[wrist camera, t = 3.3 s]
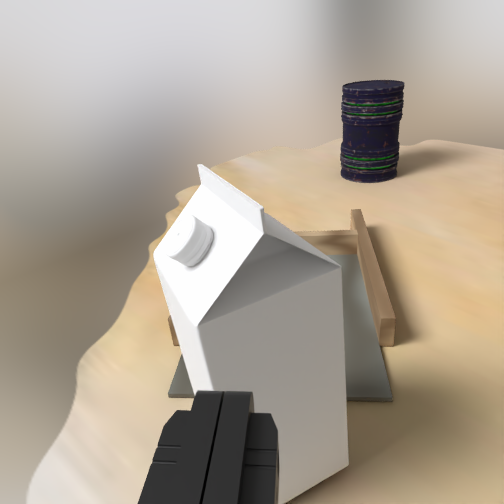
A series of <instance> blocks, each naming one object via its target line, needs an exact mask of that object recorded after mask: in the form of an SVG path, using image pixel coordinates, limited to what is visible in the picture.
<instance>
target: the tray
mask: <svg viewBox="0 0 504 504" xmlns="http://www.w3.org/2000/svg"><path fill="white" fill-rule="evenodd" d="M294 233H295V234H297V235H298V236H300V237H301V238H303V239H304V240H305V241H307V242H308V243H310V244H311V245H312V246H314V247H315V248H317V249H318V250H319V251H321V252H322V253H324V254H325V255H327V256H328V257H329V258H331V259H332V260H334V261H335V262H336V263H338V264H339V265H340V266H342V267H341V271H342V297H343V324H344V350H345V376H346V401H392V398H393V397H392V393H391V389H390V385H389V381H388V377H387V373H386V369H385V365H384V361H383V357H382V353H381V349H380V346H393V342H394V333H395V323H396V317H395V314H394V311H393V308H392V305H391V301H390V298H389V295H388V292H387V289H386V286H385V283H384V280H383V277H382V274H381V271H380V268H379V264H378V261H377V258H376V255H375V252H374V249H373V246H372V243H371V240H370V237H369V234H368V230H367V227H366V224H365V221H364V218H363V215H362V212H361V209H355V210H351V229H350V230H337V231H304V232H294ZM168 321H169V326H170V331H171V335H172V340H173V344H174V346H180V345H179V342H178V338H177V335H176V332H175V328H174V325H173V322H172V318H171V315H170V316H169V318H168ZM168 396H169V397H183V398H194V397H195V395H194V392H193V388H192V385H191V382H190V378H189V375H188V372H187V368H186V365H185V362H184V358H183V355H181V358H180V361H179V363H178V366H177V369H176V372H175V375H174V378H173V381H172V384H171V386H170V389H169V392H168Z"/></svg>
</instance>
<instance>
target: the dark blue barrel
mask: <svg viewBox="0 0 504 504" xmlns="http://www.w3.org/2000/svg"><path fill="white" fill-rule="evenodd" d="M403 89H404V82H402V81H394V80H371V81H360V82H353V83H348V84H345V85H343V90H342V91H343V95H342V101H343V102H342V108H341V109H342V115H341V117H342V121H343V142H342V144H341V154H340V155H341V156H340V161H341V167H342V169H341V176H342V177H343V178H345V179H347V180H350V181H354V182H361V183H376V182H383V181H387V180H390V179H393V178H394V177H395V176H396V175H397V170H396V167H397V161H398V160H399V152H398V151H399V142H398V135H399V123H400V120H401V118H402V115H403V114H402V108H403V102H404V100H403V94H404V93H403Z"/></svg>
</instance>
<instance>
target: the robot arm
mask: <svg viewBox="0 0 504 504" xmlns="http://www.w3.org/2000/svg"><path fill="white" fill-rule="evenodd" d="M279 471H280V465H279V443H278V429H277V427H276V424H275V422H274V420H273V417H272V415H271V413H255V411H254V398H253V392H247V391H207V390H198V391H197V392H196V394H195V397H194V401H193V405H192V408H191V411H187V410H177V411H176V412H175V413H174V414H173V415H172V417H171V418H170V419H169V420H168V422H167V423H166V424H165V425H164V427H163V430H162V433H161V436H160V439H159V442H158V447H157V448H156V451H155V454H154V457H153V462H152V464H151V466H150V469H149V472H148V475H147V478H146V481H145V484H144V487H143V490H142V493H141V496H140V499H139V502H138V504H278V496H279Z"/></svg>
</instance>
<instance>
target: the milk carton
mask: <svg viewBox="0 0 504 504" xmlns="http://www.w3.org/2000/svg"><path fill="white" fill-rule="evenodd" d="M198 169H199V175H200V179H201V185H200V187H199V188H198V190H197V191H196V192H195V194H194V195H193V197H192V198H191V200H190V201H189V202H188V204H187V205H186V207H185V208H184V210H183V211H182V212H181V214H180V215H179V217H178V218H177V220H176V221H175V222H174V224H173V225H172V227H171V228H170V230H169V231H168V232H167V234H166V235H165V237H164V238H163V240H162V241H161V242H160V244H159V245H158V247H157V248H156V250H155V251H154V261H155V264H156V268H157V271H158V275H159V278H160V282H161V285H162V288H163V292H164V295H165V298H166V302H167V305H168V308H169V312H170V315H171V318H172V322H173V325H174V328H175V332H176V335H177V338H178V342H179V345H180V348H181V352H182V355H183V358H184V362H185V365H186V368H187V372H188V375H189V378H190V382H191V385H192V388H193V392H194V395H195V394H196V392H197V391H198V390H207V391H247V392H253V398H254V411H255V413H271V415H272V417H273V420H274V422H275V424H276V427H277V429H278V443H279V465H280V471H279V496H278V504H284V503H286V502H288V501H289V500H291V499H293V498H294V497H296V496H298V495H300V494H301V493H303V492H305V491H306V490H308V489H310V488H311V487H313V486H315V485H316V484H318V483H320V482H321V481H323V480H325V479H326V478H328V477H330V476H332V475H333V474H335V473H337V472H338V471H340V470H342V469H343V468H345V467H347V466H348V465H349V455H348V429H347V403H346V376H345V350H344V324H343V297H342V271H341V267H342V266H340V265H339V264H338V263H336V262H335V261H334V260H332V259H331V258H329V257H328V256H327V255H325V254H324V253H322V252H321V251H319V250H318V249H317V248H315V247H314V246H312V245H311V244H310V243H308V242H307V241H305V240H304V239H303V238H301V237H300V236H298V235H297V234H295V233H294V232H293V231H291V230H290V229H288V228H287V227H286V226H284V225H283V224H281V223H280V222H279V221H277V220H276V219H274V218H273V217H271V216H270V215H268V214H266V213H264V208H263V206H261V205H260V204H258V203H257V202H255V201H254V200H253V199H251V198H250V197H248V196H247V195H245V194H244V193H242V192H241V191H240V190H238V189H237V188H235V187H234V186H232V185H231V184H229V183H228V182H227V181H225V180H224V179H222V178H221V177H219V176H218V175H216V174H215V173H214V172H212V171H211V170H209V169H208V168H206V167H205V166H203V165H202V164H199V165H198Z"/></svg>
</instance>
